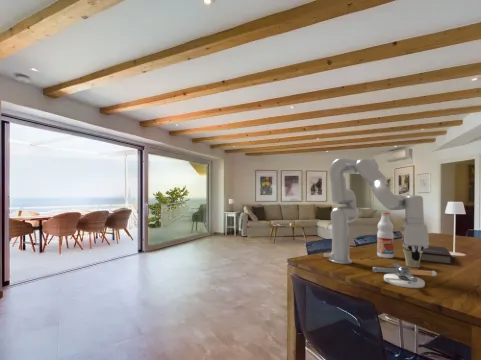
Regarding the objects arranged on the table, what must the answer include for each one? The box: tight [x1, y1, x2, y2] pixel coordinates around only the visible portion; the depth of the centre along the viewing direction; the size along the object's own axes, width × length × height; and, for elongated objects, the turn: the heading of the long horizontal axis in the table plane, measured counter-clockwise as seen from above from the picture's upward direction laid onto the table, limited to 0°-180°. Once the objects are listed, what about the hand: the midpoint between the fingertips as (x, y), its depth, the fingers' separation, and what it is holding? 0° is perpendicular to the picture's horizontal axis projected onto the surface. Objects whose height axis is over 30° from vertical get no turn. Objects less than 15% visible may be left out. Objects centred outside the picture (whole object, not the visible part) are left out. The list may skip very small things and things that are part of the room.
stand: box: [383, 273, 426, 289], centre depth 128 cm, size 16×16×2 cm
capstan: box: [371, 261, 437, 282], centre depth 128 cm, size 26×26×5 cm
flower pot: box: [402, 248, 423, 269], centre depth 156 cm, size 9×9×9 cm
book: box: [414, 245, 454, 266], centre depth 178 cm, size 28×20×6 cm
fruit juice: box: [376, 211, 395, 259], centre depth 180 cm, size 9×9×28 cm
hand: (415, 260), depth 134 cm, fingers closed
